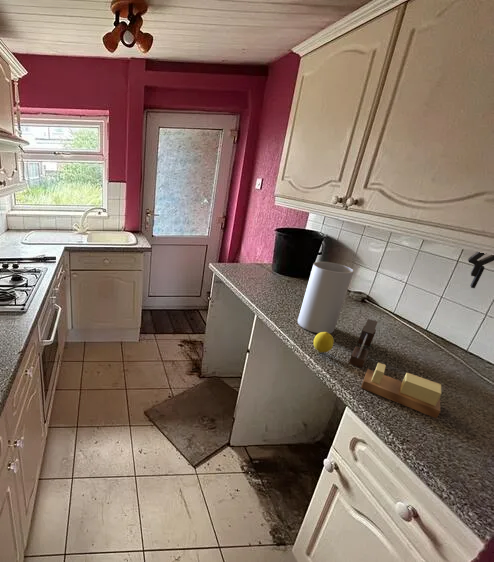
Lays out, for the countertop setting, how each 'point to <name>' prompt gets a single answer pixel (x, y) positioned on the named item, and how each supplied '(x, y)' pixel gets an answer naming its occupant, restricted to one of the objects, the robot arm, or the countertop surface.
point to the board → (398, 394)
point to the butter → (421, 389)
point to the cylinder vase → (324, 296)
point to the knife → (367, 332)
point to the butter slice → (378, 373)
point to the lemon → (323, 342)
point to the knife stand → (360, 361)
